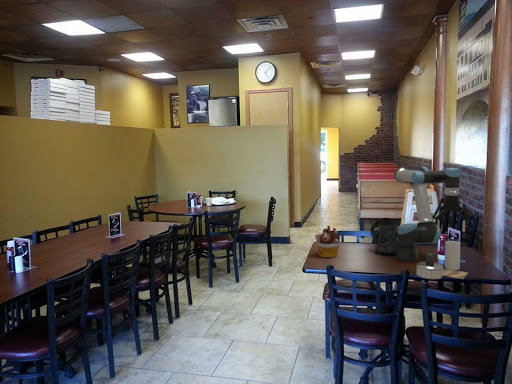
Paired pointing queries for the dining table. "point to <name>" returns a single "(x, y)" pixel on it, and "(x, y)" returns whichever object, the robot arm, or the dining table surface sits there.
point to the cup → (452, 255)
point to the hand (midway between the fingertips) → (450, 231)
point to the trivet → (454, 274)
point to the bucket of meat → (328, 243)
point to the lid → (430, 263)
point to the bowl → (429, 273)
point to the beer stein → (385, 237)
